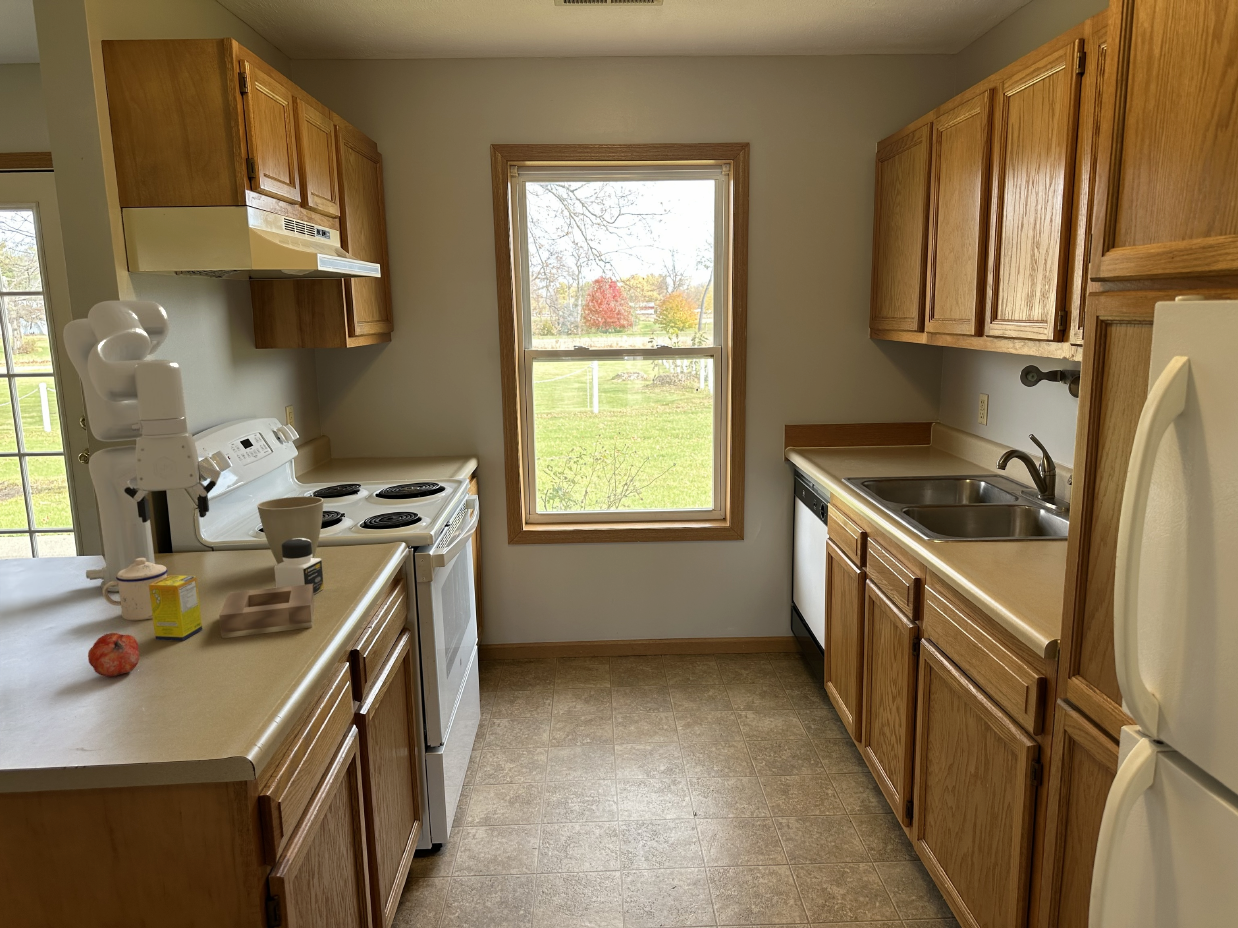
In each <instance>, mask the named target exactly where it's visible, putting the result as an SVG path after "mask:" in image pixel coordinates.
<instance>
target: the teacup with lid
mask: <svg viewBox="0 0 1238 928" xmlns="http://www.w3.org/2000/svg"><path fill="white" fill-rule="evenodd" d="M167 573H168V569H167V567H166V566H165V565H162V564H156V563H155V564H154V563H151V562H146V559H145V558H138V559H136V560H135V564H132V565H131V566H129V567H128V568H127V569H124V570H122V571H120V572H119V573H118V574H117V577H116V579H117V580H118V581H114V582H110V583H108V584H107V585H105V586H104V588H103V589H102V596H103V598H104V600H105V601H106V602H107V603H108V604H110V605H112V606H117V607H118V606H120V608H121V614H122V617H123V618H124V620H128V621H144V620H146V621H147V620H151V619H153V615H152V607H151V599H150V591H149V584H152V583H154V582H156V581H158V580H161V579H163V578H165V577H167V575H168V574H167ZM114 585H119V591H118V593H119V598H120V599H119V600H120V601H119V600H115V599H113V598H112V597H111V596H110V595H109V593H108V592H109V591H107V590H108V587H110V586H114Z"/></svg>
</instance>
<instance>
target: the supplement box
mask: <svg viewBox="0 0 1238 928" xmlns="http://www.w3.org/2000/svg"><path fill="white" fill-rule="evenodd" d="M197 578H198V577H197V575H178V574H176V575H175V574H174V575H168V576H167V577H165V578H163V579H161V580H158V581H156V582H154V583H152V584H149V591H150V599H151V607H152V615H153V618H152V621H153V629H154V637H155V641H169V640H177V641H176V642H179V641H181V640H182V641H181V642H184V641H185V640H187V639H188V638H190V637H192V636H193V635H195V634H197V633H198V632H200V631H202V630H203V621H202V615H201V606H200V597H199V589H198V579H197Z"/></svg>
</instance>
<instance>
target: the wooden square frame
mask: <svg viewBox="0 0 1238 928" xmlns="http://www.w3.org/2000/svg"><path fill="white" fill-rule="evenodd" d="M314 596H315V595H313V584H307V585H298V586H289V587H279V588H276V587H273V588H272V587H271V588H262V589H255V590H254V589H253V590H252V589H251V590H243V591H235V592H228V594H227V596H226V599H225V600H224V604H223V605H222V608H221V610H220V612H219V625H220V636H221V639H227V638H235V637H243V636H244V637H245V636H252V635H260V634H268V633H269V634H270V633H276V632H277V633H278V632H282V631H283V632H284V631H293V630H300V629H308V628H310V629H311V628H313V621H314V614H315V613H314V612H315V599H314Z"/></svg>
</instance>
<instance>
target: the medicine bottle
mask: <svg viewBox="0 0 1238 928" xmlns="http://www.w3.org/2000/svg"><path fill="white" fill-rule="evenodd" d="M282 556H283V561H284V562H282V563H280V564H276V565H274V577H275V588H279V587H289V586H298V585H307V584H313V596H315V595H316V594H318V593H320V592H321V591H323V590H324V588H325V586H324V585H325V584H324V575H323V574H324V572H323V559H322V558H320V557H317V558H316V557H314V558H312V557H313V556H312V544H311V541H310V540H308V539H305V538H296V539H290V540H287V541H285V542H284V543H283V544H282Z"/></svg>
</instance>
